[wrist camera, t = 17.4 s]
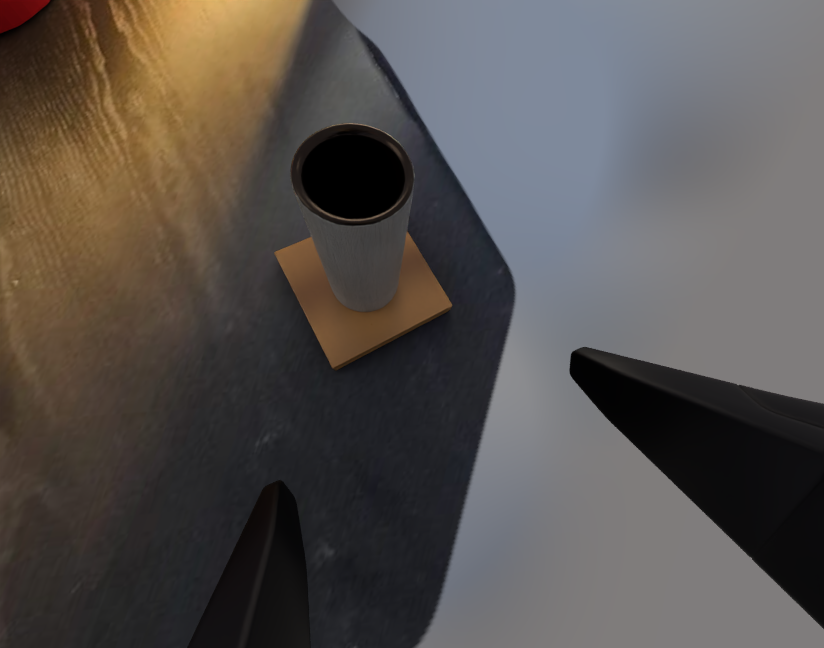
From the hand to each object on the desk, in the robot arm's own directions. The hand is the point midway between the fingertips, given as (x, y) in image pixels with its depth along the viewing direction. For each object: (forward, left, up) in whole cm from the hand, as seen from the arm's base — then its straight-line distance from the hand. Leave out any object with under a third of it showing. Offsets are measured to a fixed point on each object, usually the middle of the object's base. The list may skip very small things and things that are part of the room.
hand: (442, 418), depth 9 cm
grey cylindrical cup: (+9, -2, -11) cm, 14 cm away
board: (+9, -2, -12) cm, 15 cm away
